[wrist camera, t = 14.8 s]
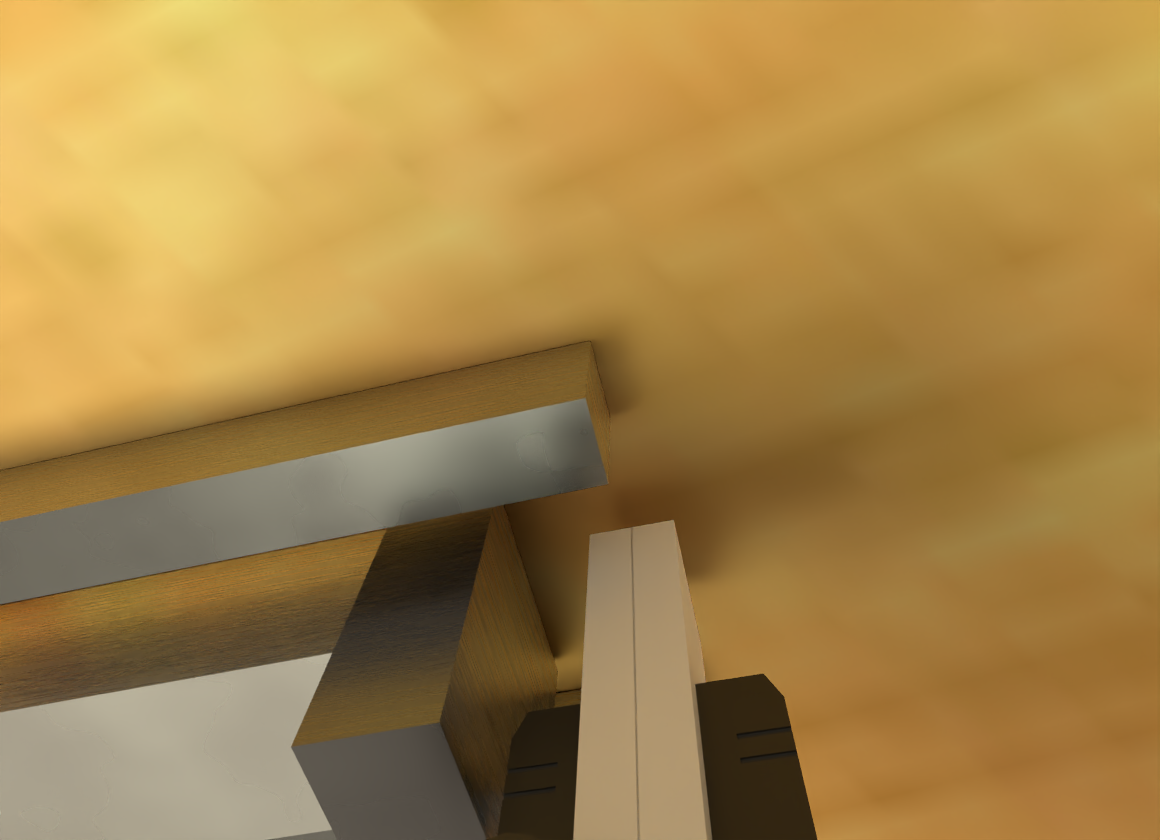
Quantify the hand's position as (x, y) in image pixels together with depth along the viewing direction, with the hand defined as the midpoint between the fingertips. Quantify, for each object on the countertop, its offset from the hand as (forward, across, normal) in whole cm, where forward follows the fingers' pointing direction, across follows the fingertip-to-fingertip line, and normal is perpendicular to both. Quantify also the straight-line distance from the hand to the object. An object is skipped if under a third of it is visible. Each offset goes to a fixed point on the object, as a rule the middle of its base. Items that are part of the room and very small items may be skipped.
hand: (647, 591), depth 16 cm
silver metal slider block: (+1, +8, 0) cm, 8 cm away
